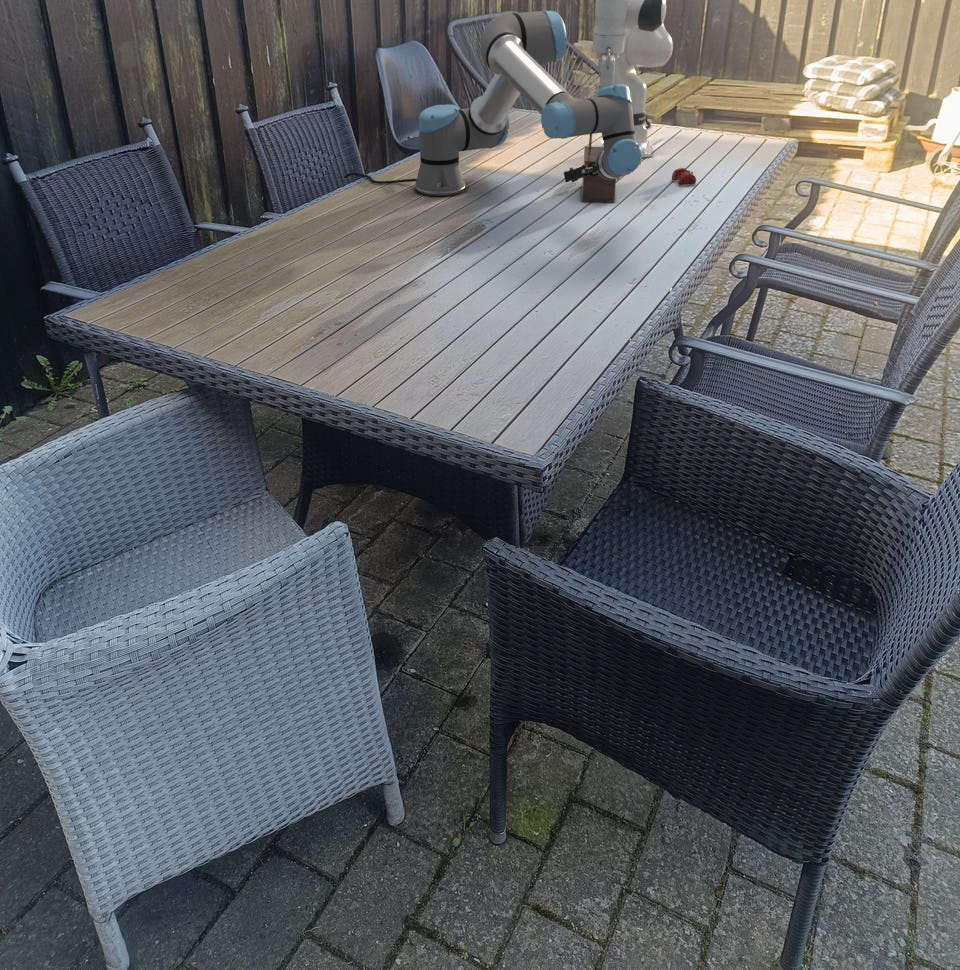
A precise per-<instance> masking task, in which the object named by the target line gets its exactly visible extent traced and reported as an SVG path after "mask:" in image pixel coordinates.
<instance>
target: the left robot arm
mask: <svg viewBox="0 0 960 970" xmlns="http://www.w3.org/2000/svg"><path fill="white" fill-rule="evenodd" d="M564 22H565V21H564V19H563V18H562V16H561V14H559V12H557V11H555V10H546V9H543V10H535V11H524V12H508V13H507V12H506V13H502V14H499V15H497V16H495V17H493V18H492V19H491V20H490V21H489V22H488V23H487V24H486V26H485V28H483V31H482V33H481V37H480V45H479V47H480V53H481V56H482V60H483V61H484V63H485V64H486V66H487V67H488V68H489V69H490V70H491V71H492V72H493V73H494V76H493V77H492V79H491V80H490V83H489V84H488V86H487V87H486V89H485V91H484V93H483V94H482V95H480V96H478V97H476V98H475V99H474V100H473V101H472V102H471V104H470V106H469V107H467V108H458V106H457V105H455V104H449V103H447V104H437V105H433V106H429V107H426V108H425V109H423V110H422V111H421V112H420V114H419V116H418V118H419V119H418V136H419V138H418V139H419V157H420V158H419V159H420V161H419V162H420V164H419V168H418V172H417V176H416V178H405V179H395V180H375V179H373V178H372V176H371V175H369V174H363V173H360V172H349V173H347V174H345V175H344V176H343V179H348V177H350V176H359V177H362V178H365V179H369V180H370V183H372V184H378V185H385V184H386V185H387V184H400V183H410V182H415V192H417V193H418V194H420V195H424V196H430V197H450V196H455V195H459V194H461V193H463V192H464V191H466V181H465V179H464V176H463V172H462V169H461V165H460V152H461V153H462V152H466V151H467V152H468V151H473V150H482V149H492V148H495V147H496V148H497V147H499V146H501V145H502V144H504V143H505V141H506V140H507V137H508V135H509V131H508V130H509V129H510V119H509V115H508V113H509V111H510V110H511V108H512V107H513V106H514V104H515V102H516V101H517V99H518V98H519V97H520V95H521V96H522V97H523V98H524V99H525V100H526V101H527V102H528V103H529V104H530V106H532V107H533V108H534V109H535V110H536V111H537V113H539V114H540V124H541V128H542V129H543V133H544V134H545V135H546V137H547V138H550V139H552V140H553V139H555V140H556V139H561V140H562V139H563V140H565V139H568V138H574V137H582V136H586V135H590V134H592V135H594V134H601V138H602V140H603V143H602V145H603V144H604V150H603V151H602V152H601V153H600V154H599V155H598V157H597V159H596V161H595V162H592V163H590V164H589V166H586V165H583V164H582V165H581V166H579V167H576V168H574V167H573V166H572V167H569V169H568V170H566V171H564V172H563V176H564V182H565V183H570V182H571V183H575V182H577V181H579V179H583V178H584V177H587V176H592V177H594V176H598V175H599V176H600V177H601V178H603V179H605V180H614V179H616V181H621V179H622V178H621V177H624V176H628V175H630V174H631V173H633V172H635V170H636V169H637V168H638V167H639V166H640V165H641V164H642V160H643V159H642V158H643V157H642V151H641V148H640V146H639V145H638V143H636V135H635V131H634V121H633V109H632V105H633V104H632V99H631V94H630V90H629V87H628V86H627V85H625V84H617V85H613V86H608V87H604V88H602V89H601V88H600V89H598V90H597V93H596V97H589V98H582V99H576V98H574V97H573V95H572V94H570V93H569V92H568V91H567V90H566V89H565V88H564V87H563V86H562V85H561V84H560V83H559V82H558V81H557V80H556V79H555V78H554V77H553V76H552V75H551V74H550V73H549V72H548V71H547V70H545V68H546V66H547V65H548V64H549V63H550V62H551V63H552V62H553V63H557V62H559V61H561V60H562V59H563V58H564V56H565V54H566V51H567V46H568V45H567V44H568V41H567V37H568V36H567V30H566V29H567V28H566V24H565V23H564ZM596 173H597V174H596Z"/></svg>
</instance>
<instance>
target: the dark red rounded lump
mask: <svg viewBox="0 0 960 970" xmlns="http://www.w3.org/2000/svg"><path fill="white" fill-rule="evenodd" d="M671 181H677V184H678V186H689V185H696V183H697V177H696V175H695V173H694V171H692V170H689V169H687V168H685V167H678V168H675V170H674V171H673V172H672V174H671Z"/></svg>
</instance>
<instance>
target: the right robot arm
mask: <svg viewBox="0 0 960 970" xmlns="http://www.w3.org/2000/svg"><path fill="white" fill-rule="evenodd" d="M666 14H667V0H595V9H594V19H595V26H594V29H593V35H592V36H593V37H592V52H593V53H595V54H596V59H597V60H598V61H597V63H598V74H599V86H600V87H601V88H600V89H602V88H604V87H608V86H613V85H617V84H625V85H627V86H628V87H629V90H630V94H631V99H632V104H633V105H632V109H633V121H634V131H635V135H636V143H638V145H639V146H640V148H641V151H642V158H650V157H652V148H651V144H650V143H649V140H648V135H649V134H648V132H649V130H648V129H649V128H650V127H651V125H652V124H651V122H650V121H648V115H647V112H646V105H647V104H646V103H647V94H648V87H647V85H646V82H645V81H644V80H643V79H642V78H640V77H639V75H638V74H637V72H636V69H635V67H641V68H649V69H651V68H657V67H663V66H665V65H666V64H667V63H668V62H669V60H670V59H671V57H672V54H673V51H674V42H673V39H672V37H671V34H670V33H669V32H668V31H667V29H666V26H665V24H664V21H665V19H666ZM645 123H646V124H647V125H646V124H645ZM601 144H602V146H601V147H604V144H603V139H602V140H601Z"/></svg>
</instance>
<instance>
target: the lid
mask: <svg viewBox="0 0 960 970" xmlns="http://www.w3.org/2000/svg"><path fill="white" fill-rule="evenodd" d="M588 140H589V141H588V145H587V146H586V145H585V146H584V148H583V150H584V153H583V160H584V159H585V165H586V166H589V164H590V163H592V162H595V161H596V159H597V157H598V155H599V154H600V153H601V152H602V151H603V150H604V147H602V146H592V143H593V141H592V140H593V134H589V138H588Z"/></svg>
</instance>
